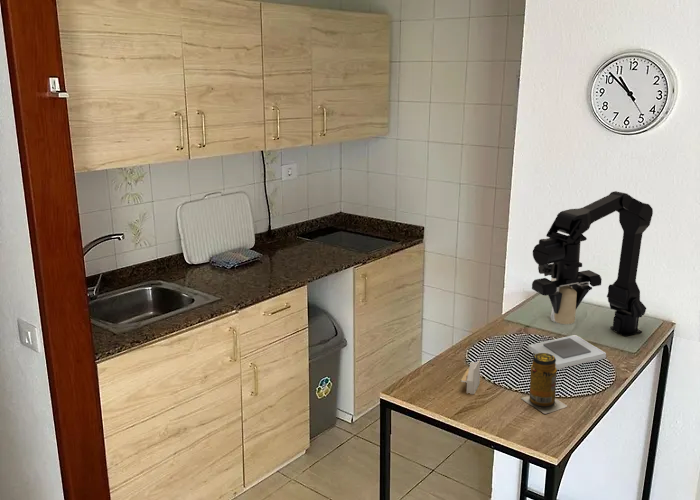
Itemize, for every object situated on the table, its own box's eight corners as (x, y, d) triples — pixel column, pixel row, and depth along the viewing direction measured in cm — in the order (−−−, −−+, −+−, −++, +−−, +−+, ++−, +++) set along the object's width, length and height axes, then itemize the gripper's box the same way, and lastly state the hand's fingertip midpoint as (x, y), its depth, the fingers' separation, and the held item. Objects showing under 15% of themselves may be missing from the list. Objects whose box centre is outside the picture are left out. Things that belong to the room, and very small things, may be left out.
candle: (575, 325, 178) (578, 291, 175) (554, 324, 179) (556, 290, 176) (573, 316, 183) (576, 283, 180) (553, 316, 184) (555, 283, 181)
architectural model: (460, 393, 166) (460, 367, 163) (467, 380, 172) (468, 355, 169) (473, 396, 164) (474, 369, 162) (480, 383, 170) (481, 357, 168)
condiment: (543, 391, 164) (545, 348, 161) (567, 406, 157) (570, 362, 153) (520, 399, 161) (522, 355, 158) (544, 415, 154) (546, 369, 150)
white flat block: (575, 339, 191) (575, 333, 190) (605, 358, 179) (606, 351, 179) (528, 349, 186) (528, 343, 185) (556, 369, 174) (557, 362, 174)
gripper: (578, 245, 185) (575, 296, 190) (521, 254, 180) (519, 306, 185) (604, 256, 175) (600, 309, 180) (545, 266, 170) (542, 321, 175)
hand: (565, 311), depth 180 cm, fingers closed on candle, 5 cm apart
